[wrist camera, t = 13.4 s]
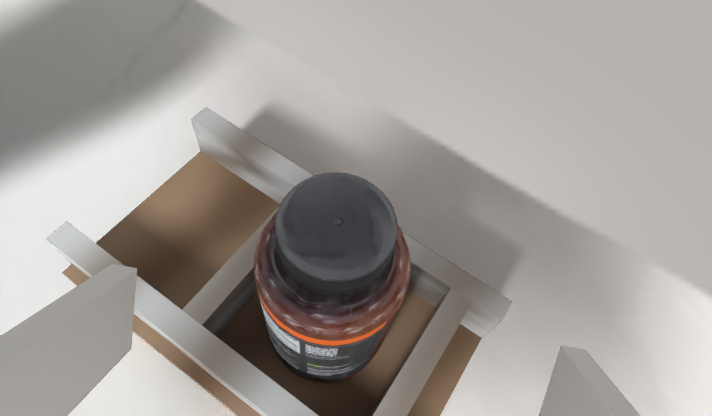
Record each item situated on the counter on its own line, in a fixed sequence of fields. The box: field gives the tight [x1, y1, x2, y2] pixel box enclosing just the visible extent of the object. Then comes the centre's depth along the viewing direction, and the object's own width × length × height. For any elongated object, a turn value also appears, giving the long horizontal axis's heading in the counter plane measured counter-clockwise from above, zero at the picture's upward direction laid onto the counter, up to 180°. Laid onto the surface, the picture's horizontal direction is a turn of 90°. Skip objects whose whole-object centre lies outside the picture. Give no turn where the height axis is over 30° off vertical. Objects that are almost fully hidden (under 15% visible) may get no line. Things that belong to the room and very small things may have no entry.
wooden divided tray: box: [46, 107, 512, 416], centre depth 25 cm, size 20×12×4 cm, turn 56°
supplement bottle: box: [254, 173, 411, 382], centre depth 20 cm, size 6×6×11 cm
